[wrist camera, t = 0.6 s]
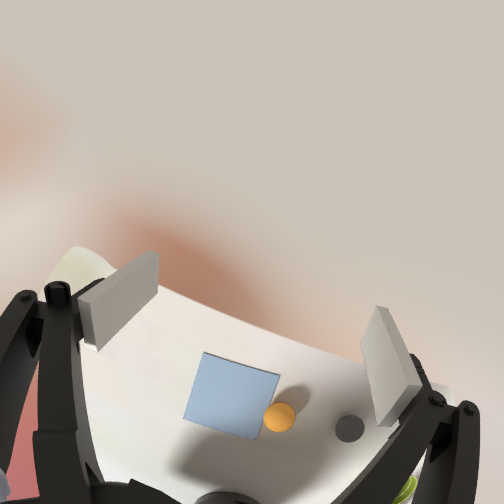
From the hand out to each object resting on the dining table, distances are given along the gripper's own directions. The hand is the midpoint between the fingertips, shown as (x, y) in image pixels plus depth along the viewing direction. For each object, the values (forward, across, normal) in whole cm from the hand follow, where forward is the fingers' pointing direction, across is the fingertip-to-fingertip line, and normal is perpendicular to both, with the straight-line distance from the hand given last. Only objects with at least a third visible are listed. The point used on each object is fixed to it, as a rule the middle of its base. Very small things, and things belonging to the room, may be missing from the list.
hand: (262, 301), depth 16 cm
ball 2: (+18, -21, +33) cm, 43 cm away
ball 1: (+17, -7, +32) cm, 37 cm away
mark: (+19, +2, +32) cm, 38 cm away
